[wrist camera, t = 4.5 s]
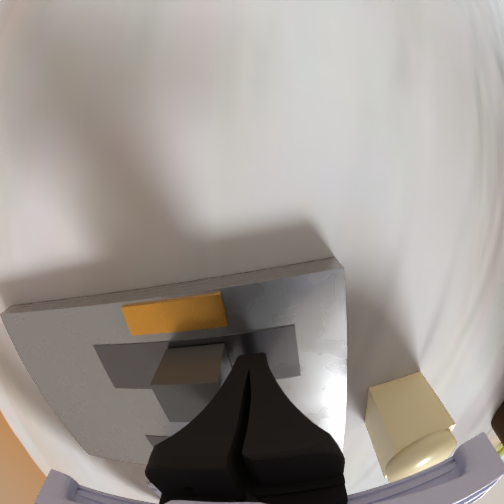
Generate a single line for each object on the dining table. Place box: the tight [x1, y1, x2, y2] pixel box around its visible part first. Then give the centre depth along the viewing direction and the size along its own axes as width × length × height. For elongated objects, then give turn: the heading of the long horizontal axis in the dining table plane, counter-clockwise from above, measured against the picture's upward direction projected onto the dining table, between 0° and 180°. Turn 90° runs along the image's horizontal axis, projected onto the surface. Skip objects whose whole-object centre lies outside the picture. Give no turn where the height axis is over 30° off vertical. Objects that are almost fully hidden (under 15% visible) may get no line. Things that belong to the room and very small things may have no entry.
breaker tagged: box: [150, 343, 232, 422], centre depth 12 cm, size 2×3×3 cm
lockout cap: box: [365, 371, 457, 482], centre depth 13 cm, size 5×5×6 cm
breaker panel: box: [0, 257, 347, 465], centre depth 15 cm, size 15×22×2 cm
